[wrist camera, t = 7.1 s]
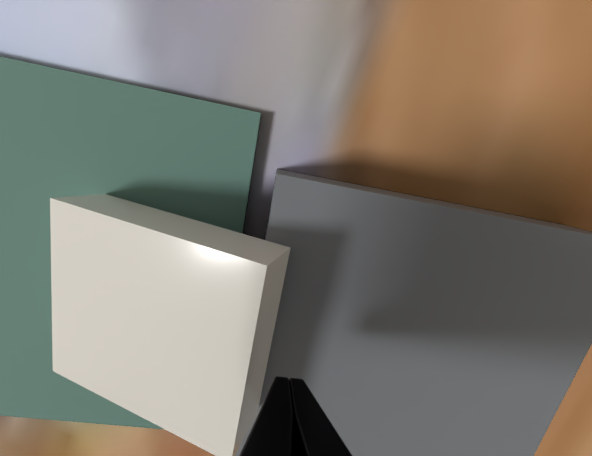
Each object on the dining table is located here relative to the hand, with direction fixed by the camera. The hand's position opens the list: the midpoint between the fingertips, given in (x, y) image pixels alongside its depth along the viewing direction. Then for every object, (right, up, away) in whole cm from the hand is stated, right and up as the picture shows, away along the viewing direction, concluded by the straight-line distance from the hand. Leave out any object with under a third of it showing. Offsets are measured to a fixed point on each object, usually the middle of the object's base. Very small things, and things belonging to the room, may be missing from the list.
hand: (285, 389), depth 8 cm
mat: (-9, +3, +4) cm, 11 cm away
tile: (-4, +2, +3) cm, 6 cm away
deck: (+5, 0, +6) cm, 8 cm away
